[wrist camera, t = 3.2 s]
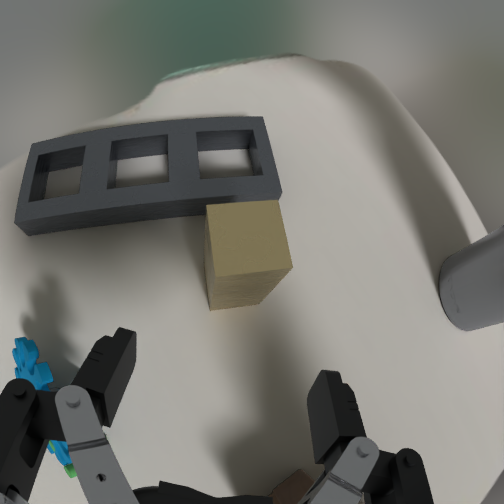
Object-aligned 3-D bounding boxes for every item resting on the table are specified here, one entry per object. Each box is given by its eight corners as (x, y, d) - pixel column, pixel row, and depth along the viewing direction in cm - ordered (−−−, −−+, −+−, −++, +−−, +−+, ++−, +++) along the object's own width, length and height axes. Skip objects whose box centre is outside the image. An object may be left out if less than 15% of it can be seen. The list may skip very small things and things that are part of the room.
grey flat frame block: (257, 135, 31) (262, 116, 29) (274, 208, 29) (282, 192, 26) (41, 160, 27) (31, 143, 24) (28, 236, 24) (14, 222, 21)
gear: (0, 345, 18) (21, 330, 13) (55, 335, 23) (99, 316, 19) (44, 464, 17) (88, 498, 12) (94, 444, 22) (154, 463, 17)
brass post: (250, 258, 26) (277, 199, 17) (258, 304, 25) (292, 267, 16) (203, 263, 26) (206, 205, 16) (210, 310, 24) (215, 276, 15)
